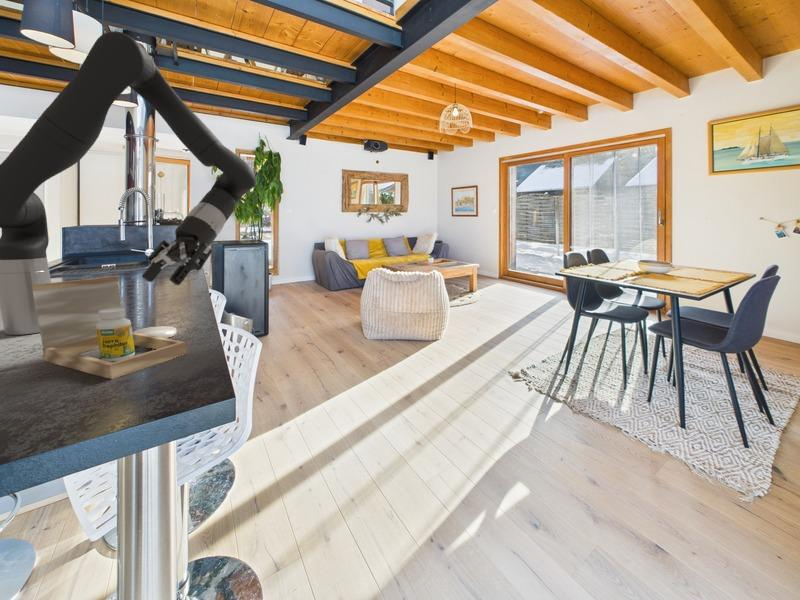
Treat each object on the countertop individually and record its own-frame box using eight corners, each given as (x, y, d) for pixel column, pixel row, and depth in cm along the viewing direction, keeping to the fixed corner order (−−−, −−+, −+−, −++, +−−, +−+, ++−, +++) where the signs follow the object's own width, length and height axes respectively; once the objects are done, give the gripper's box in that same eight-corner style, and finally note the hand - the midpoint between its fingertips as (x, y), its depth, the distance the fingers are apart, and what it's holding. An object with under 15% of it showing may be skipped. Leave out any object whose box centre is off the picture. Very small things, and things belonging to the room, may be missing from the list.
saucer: (121, 339, 84) (120, 334, 83) (159, 329, 92) (159, 324, 91) (148, 344, 80) (147, 339, 80) (185, 333, 88) (185, 329, 88)
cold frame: (44, 361, 70) (31, 285, 67) (123, 340, 83) (114, 276, 80) (112, 379, 62) (100, 295, 60) (187, 353, 75) (180, 283, 72)
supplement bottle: (135, 351, 76) (130, 305, 74) (134, 359, 72) (128, 311, 70) (102, 355, 73) (95, 308, 71) (99, 364, 69) (92, 314, 67)
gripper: (168, 214, 87) (123, 267, 78) (214, 215, 81) (170, 272, 73) (191, 236, 92) (150, 288, 84) (234, 238, 87) (196, 294, 79)
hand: (159, 281), depth 79 cm, fingers open, 8 cm apart
